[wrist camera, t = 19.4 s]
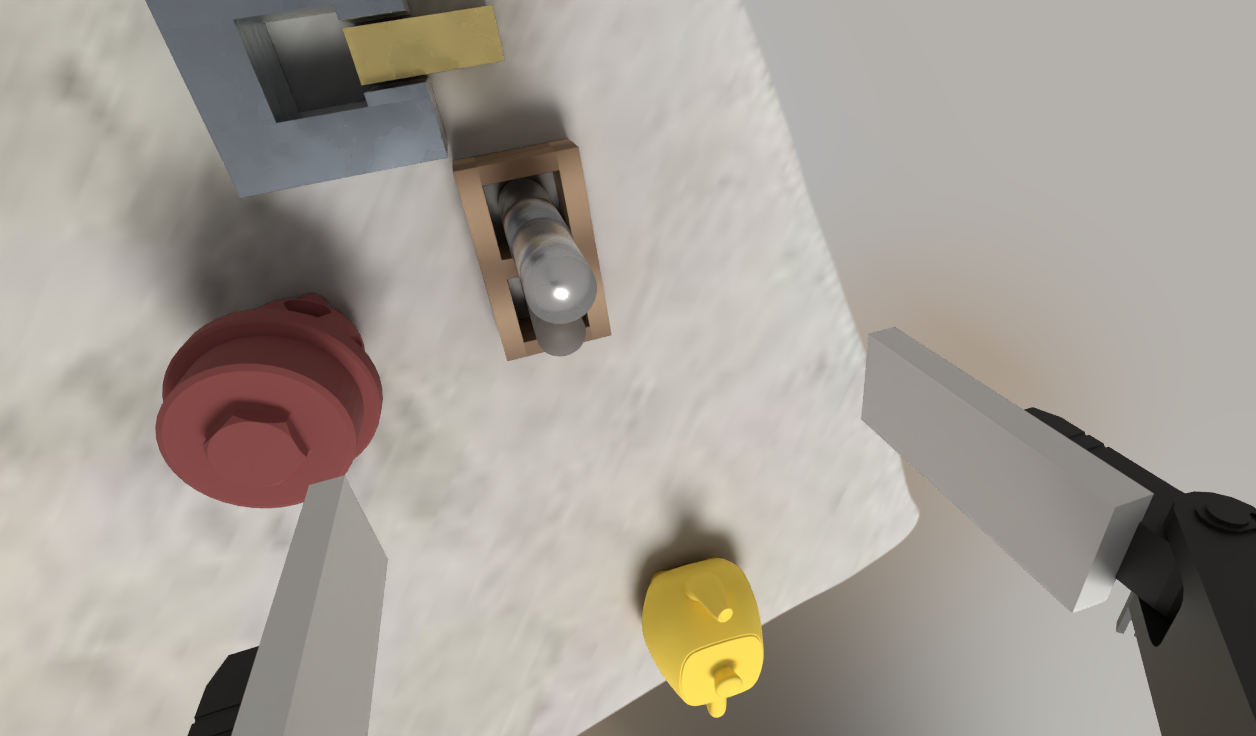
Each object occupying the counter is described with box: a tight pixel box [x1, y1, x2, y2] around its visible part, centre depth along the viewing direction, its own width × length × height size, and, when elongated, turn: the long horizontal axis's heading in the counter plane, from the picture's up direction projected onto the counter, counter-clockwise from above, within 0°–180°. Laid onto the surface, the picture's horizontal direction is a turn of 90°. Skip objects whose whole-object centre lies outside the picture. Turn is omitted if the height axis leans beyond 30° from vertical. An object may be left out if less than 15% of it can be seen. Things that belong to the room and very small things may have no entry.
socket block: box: [145, 0, 448, 198], centre depth 29 cm, size 10×10×5 cm
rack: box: [453, 138, 611, 361], centre depth 35 cm, size 12×7×8 cm, turn 8°
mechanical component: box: [155, 293, 383, 508], centre depth 32 cm, size 12×10×10 cm
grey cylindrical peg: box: [498, 179, 597, 324], centre depth 31 cm, size 3×3×15 cm
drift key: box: [342, 5, 505, 85], centre depth 30 cm, size 2×7×4 cm, turn 98°
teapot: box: [642, 557, 763, 717], centre depth 54 cm, size 18×11×11 cm, turn 4°
